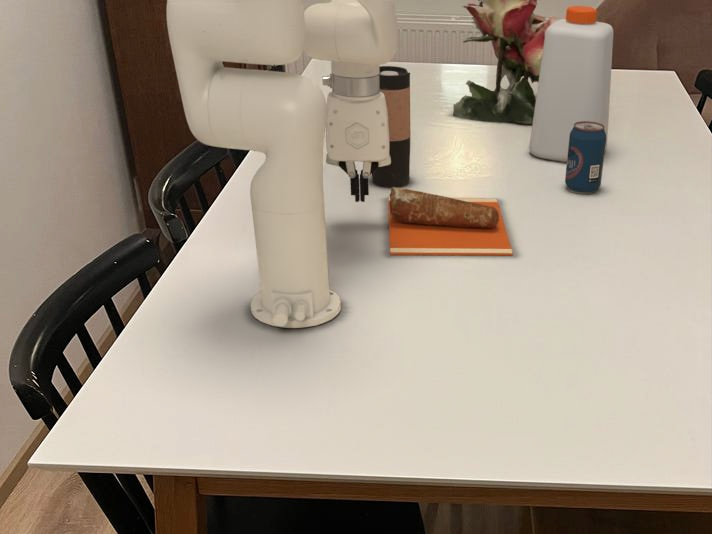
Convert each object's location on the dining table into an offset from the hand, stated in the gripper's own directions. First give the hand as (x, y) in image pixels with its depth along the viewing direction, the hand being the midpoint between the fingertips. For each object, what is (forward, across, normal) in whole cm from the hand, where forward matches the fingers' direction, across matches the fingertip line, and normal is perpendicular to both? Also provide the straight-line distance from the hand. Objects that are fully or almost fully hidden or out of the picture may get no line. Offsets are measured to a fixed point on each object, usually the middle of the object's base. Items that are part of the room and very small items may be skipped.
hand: (360, 198), depth 157 cm
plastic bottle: (+5, +44, +43) cm, 61 cm away
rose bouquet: (+5, +37, +77) cm, 85 cm away
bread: (+4, +14, 0) cm, 15 cm away
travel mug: (+5, +5, +23) cm, 24 cm away
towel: (+4, +15, 0) cm, 16 cm away
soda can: (+5, +42, +20) cm, 47 cm away
